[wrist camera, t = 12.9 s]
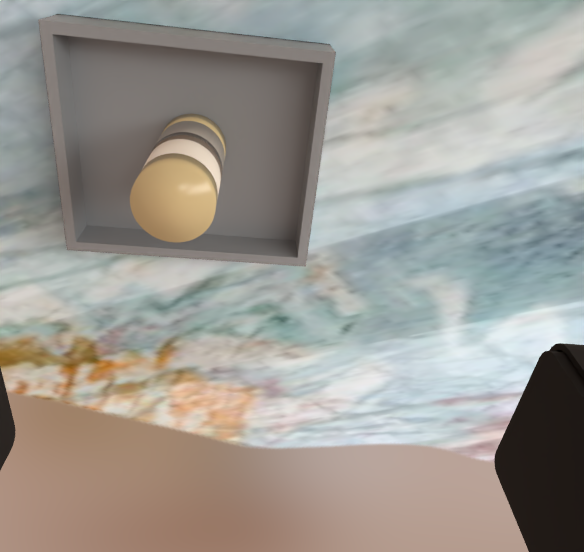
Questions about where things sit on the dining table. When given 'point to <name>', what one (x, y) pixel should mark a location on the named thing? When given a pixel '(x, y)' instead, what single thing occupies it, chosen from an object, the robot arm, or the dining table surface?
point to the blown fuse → (180, 180)
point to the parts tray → (178, 101)
